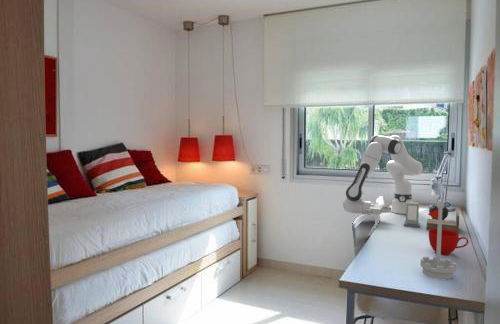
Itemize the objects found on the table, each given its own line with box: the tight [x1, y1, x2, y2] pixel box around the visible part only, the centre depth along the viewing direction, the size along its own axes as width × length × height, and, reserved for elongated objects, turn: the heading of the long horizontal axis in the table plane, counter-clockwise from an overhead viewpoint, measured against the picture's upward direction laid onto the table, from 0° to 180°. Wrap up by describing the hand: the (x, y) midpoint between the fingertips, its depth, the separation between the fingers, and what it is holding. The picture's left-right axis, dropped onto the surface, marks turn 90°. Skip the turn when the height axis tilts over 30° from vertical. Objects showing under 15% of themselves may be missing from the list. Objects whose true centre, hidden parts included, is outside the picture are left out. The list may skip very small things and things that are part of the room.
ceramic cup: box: [428, 229, 469, 256], centre depth 179 cm, size 13×17×10 cm
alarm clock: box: [428, 197, 449, 220], centre depth 247 cm, size 11×5×16 cm, turn 84°
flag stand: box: [419, 201, 457, 280], centre depth 151 cm, size 13×13×30 cm
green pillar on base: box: [403, 201, 421, 229], centre depth 236 cm, size 9×9×14 cm
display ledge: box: [426, 211, 460, 234], centre depth 228 cm, size 14×17×10 cm
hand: (390, 210), depth 242 cm, fingers open, 8 cm apart
